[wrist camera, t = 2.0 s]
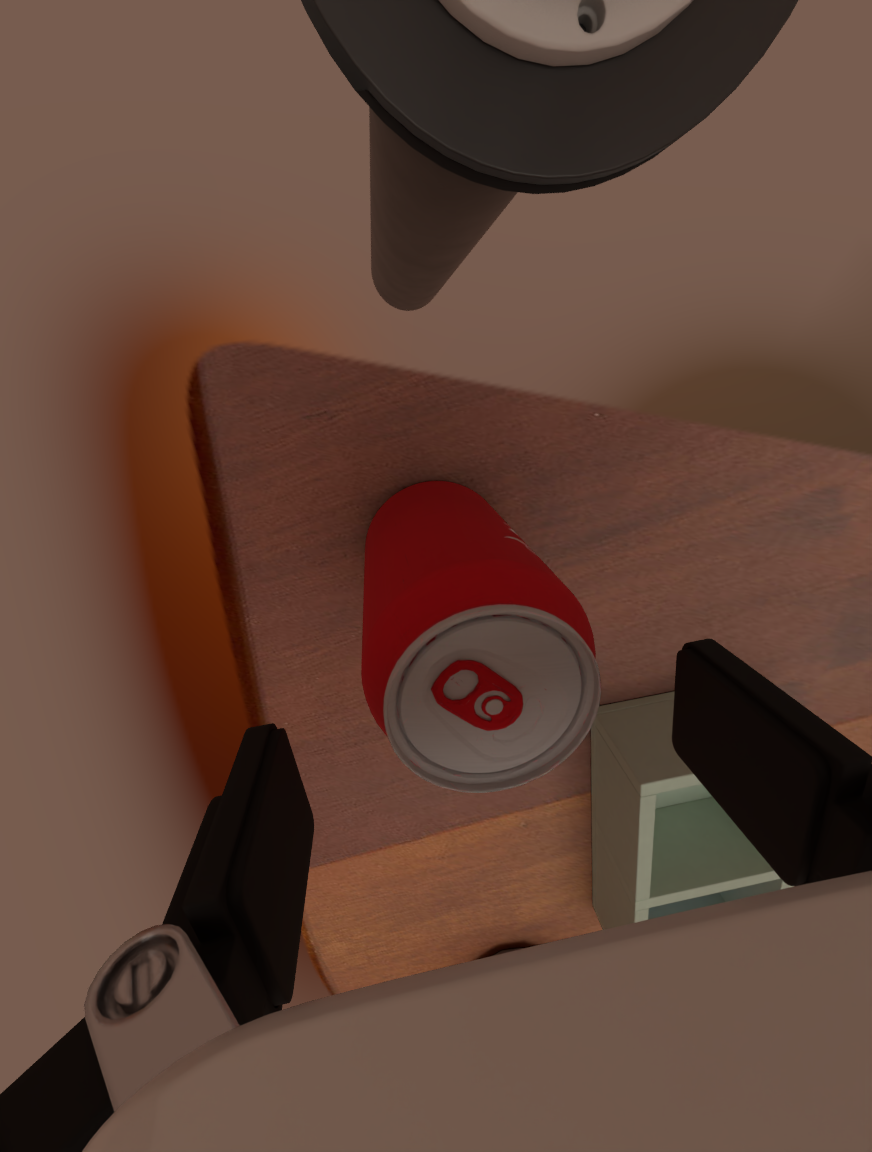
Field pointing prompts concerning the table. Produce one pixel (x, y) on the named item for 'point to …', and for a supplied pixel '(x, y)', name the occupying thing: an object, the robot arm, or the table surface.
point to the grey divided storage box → (660, 824)
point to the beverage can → (471, 644)
